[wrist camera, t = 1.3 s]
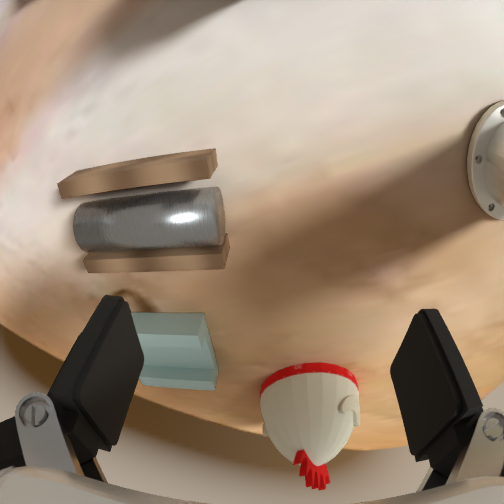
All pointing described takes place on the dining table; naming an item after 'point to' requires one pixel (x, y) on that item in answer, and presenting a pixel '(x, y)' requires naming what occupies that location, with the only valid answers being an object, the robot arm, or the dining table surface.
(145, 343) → the cradle
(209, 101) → the dining table surface
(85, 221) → the grey cylinder
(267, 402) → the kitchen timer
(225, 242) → the wooden blocks
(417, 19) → the dining table surface
